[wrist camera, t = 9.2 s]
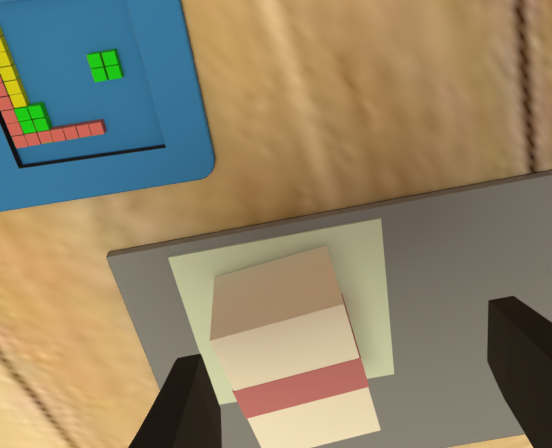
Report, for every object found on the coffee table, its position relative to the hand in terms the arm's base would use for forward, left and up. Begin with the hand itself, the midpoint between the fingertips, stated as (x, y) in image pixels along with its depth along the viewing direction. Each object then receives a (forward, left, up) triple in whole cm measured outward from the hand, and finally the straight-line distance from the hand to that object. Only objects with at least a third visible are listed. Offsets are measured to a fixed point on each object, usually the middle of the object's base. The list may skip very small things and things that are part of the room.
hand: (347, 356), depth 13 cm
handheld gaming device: (+11, -6, -10) cm, 16 cm away
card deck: (+2, +6, -9) cm, 11 cm away
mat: (-1, +9, -9) cm, 13 cm away
